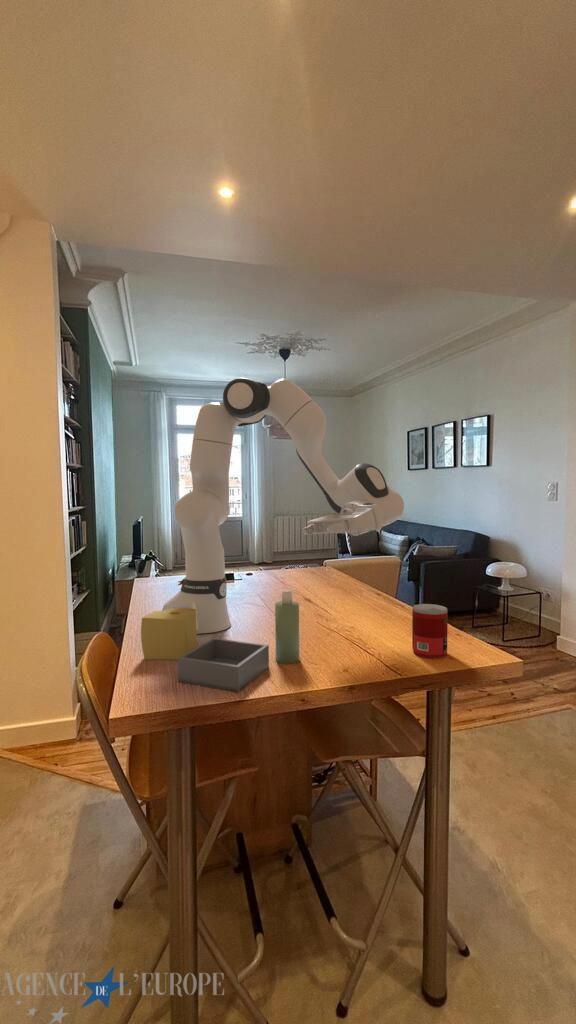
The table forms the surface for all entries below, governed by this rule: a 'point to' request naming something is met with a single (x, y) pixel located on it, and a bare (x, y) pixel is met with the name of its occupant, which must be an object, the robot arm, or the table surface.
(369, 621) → the table surface
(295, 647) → the green bottle
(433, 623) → the canned food
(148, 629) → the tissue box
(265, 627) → the table surface
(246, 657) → the box
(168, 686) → the table surface
